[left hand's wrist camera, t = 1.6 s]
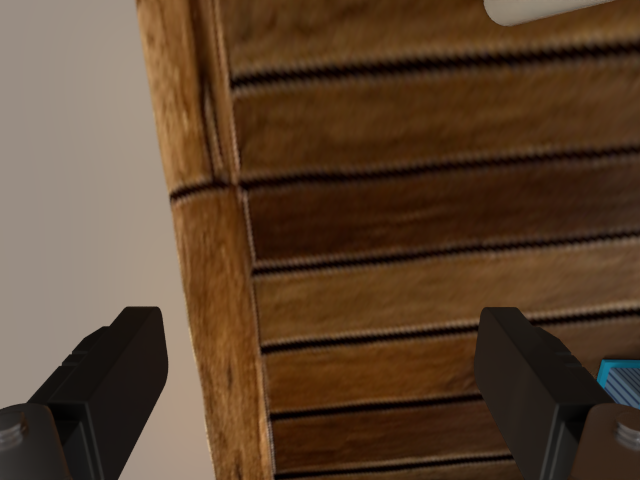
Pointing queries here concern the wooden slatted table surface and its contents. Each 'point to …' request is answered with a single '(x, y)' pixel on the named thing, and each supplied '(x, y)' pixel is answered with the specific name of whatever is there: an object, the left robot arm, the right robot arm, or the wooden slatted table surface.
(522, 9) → the beige tall cylinder
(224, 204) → the wooden slatted table surface
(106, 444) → the left robot arm
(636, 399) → the model building
